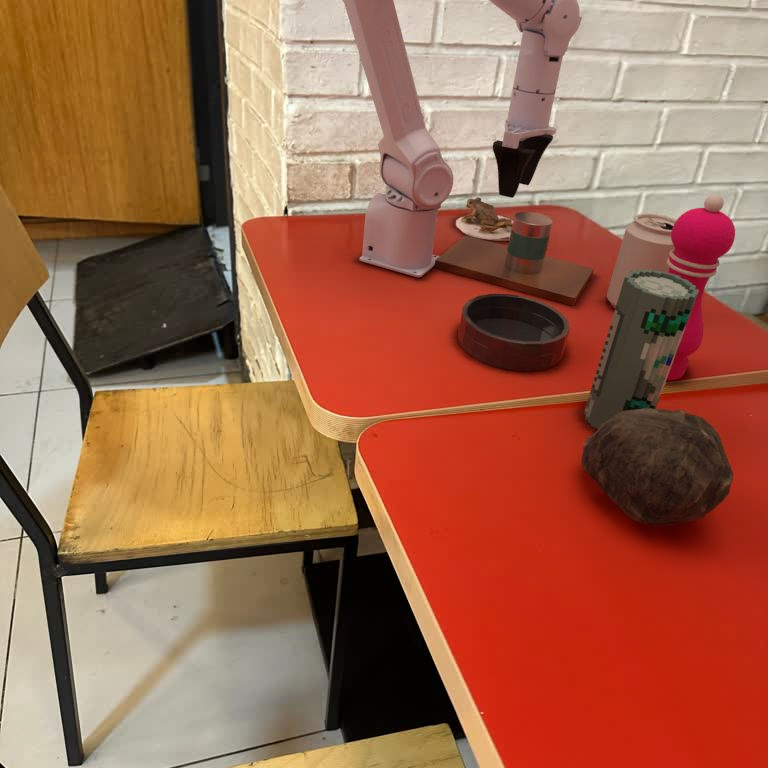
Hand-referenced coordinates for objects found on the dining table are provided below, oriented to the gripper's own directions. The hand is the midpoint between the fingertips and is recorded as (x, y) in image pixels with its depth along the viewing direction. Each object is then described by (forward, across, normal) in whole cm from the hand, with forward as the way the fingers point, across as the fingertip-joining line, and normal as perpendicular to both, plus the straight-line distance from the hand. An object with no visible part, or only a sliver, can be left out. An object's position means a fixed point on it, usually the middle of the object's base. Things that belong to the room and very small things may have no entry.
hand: (514, 189), depth 101 cm
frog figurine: (+10, +8, +5) cm, 13 cm away
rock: (+10, -48, -28) cm, 56 cm away
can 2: (+10, -37, -24) cm, 45 cm away
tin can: (+8, -7, -5) cm, 12 cm away
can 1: (+10, -8, -21) cm, 24 cm away
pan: (+9, -28, -10) cm, 31 cm away
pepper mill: (+10, -23, -26) cm, 36 cm away
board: (+9, -7, -4) cm, 12 cm away
